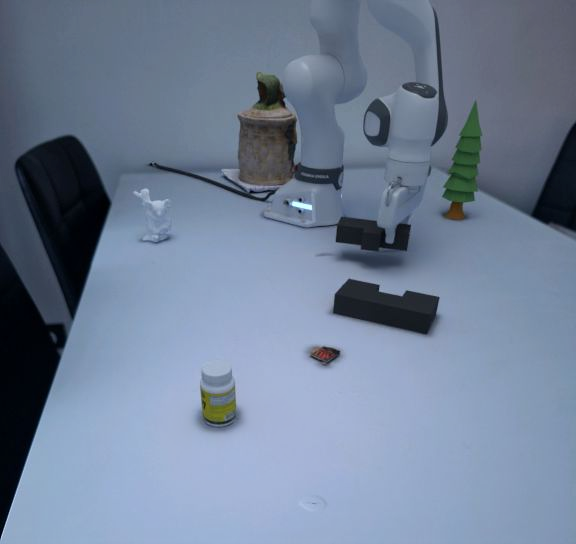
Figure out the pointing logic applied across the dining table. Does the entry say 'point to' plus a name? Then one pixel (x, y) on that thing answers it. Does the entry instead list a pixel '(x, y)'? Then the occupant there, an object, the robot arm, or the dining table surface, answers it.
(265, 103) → the cookie jar
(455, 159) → the decorative tree
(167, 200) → the koala figurine
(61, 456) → the dining table surface
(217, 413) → the supplement bottle
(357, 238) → the black pad
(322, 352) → the matchbox
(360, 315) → the charcoal pad
